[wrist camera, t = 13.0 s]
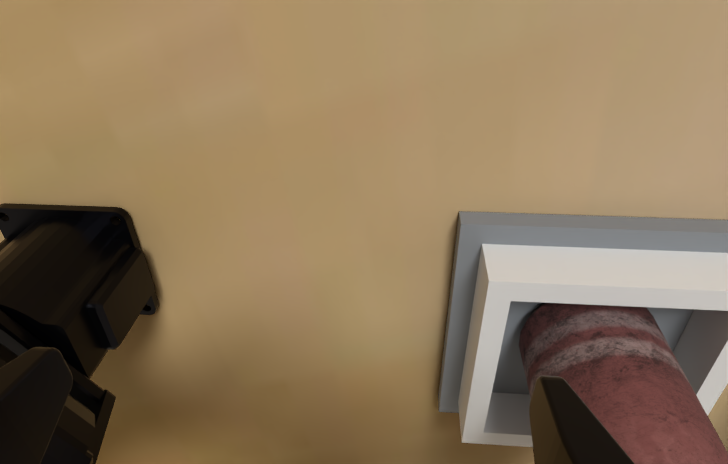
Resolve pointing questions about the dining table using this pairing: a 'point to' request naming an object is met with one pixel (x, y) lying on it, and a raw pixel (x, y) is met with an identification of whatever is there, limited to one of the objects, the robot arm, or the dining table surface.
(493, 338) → the tray
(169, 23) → the dining table surface
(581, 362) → the can
